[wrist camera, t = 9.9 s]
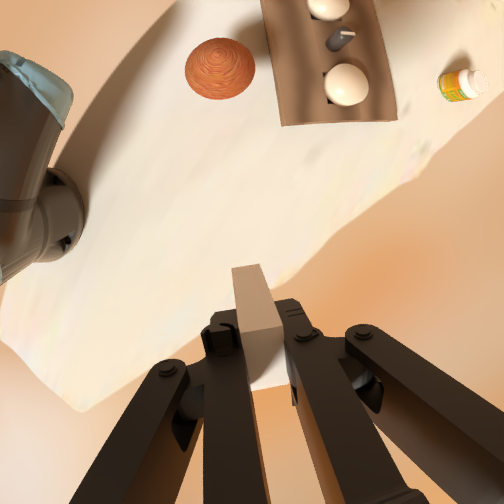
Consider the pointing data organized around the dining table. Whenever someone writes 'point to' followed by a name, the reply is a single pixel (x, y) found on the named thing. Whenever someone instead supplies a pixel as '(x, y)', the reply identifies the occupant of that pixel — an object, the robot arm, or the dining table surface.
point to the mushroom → (220, 68)
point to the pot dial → (339, 38)
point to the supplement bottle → (462, 85)
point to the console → (325, 63)
